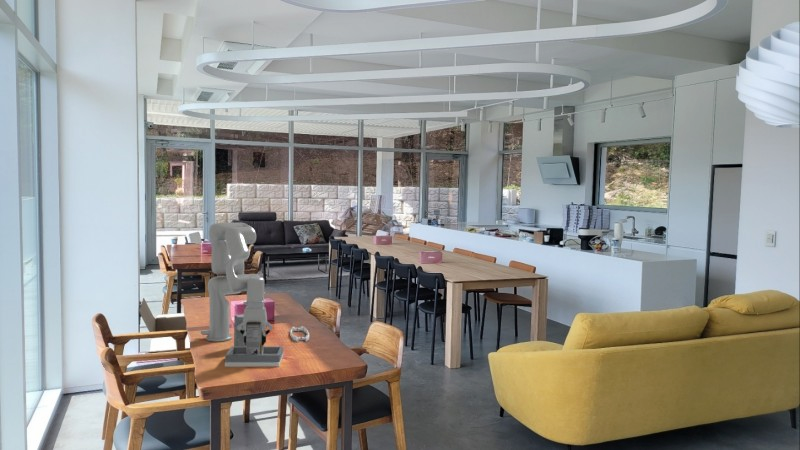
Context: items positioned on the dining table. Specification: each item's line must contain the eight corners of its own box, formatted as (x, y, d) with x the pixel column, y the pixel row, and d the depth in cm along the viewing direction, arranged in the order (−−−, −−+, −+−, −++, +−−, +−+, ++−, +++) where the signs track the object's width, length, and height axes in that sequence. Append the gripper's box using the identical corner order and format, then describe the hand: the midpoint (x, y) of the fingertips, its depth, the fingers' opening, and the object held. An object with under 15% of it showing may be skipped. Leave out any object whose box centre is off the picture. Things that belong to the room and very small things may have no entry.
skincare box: (236, 350, 264) (236, 317, 263) (233, 346, 271) (233, 314, 270) (254, 348, 268) (254, 316, 267) (251, 344, 275) (251, 312, 274)
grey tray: (224, 366, 241) (224, 356, 241) (232, 355, 257) (232, 345, 257) (279, 366, 244) (279, 356, 243) (283, 355, 259) (283, 345, 259)
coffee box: (249, 352, 255) (249, 317, 253) (263, 352, 255) (264, 317, 254) (245, 359, 246) (245, 322, 244) (260, 359, 246) (260, 322, 245)
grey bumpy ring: (306, 329, 307) (311, 342, 283) (288, 330, 304) (291, 343, 280) (306, 325, 307) (311, 337, 283) (288, 325, 304) (291, 337, 280)
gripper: (233, 306, 244) (233, 346, 246) (274, 306, 246) (273, 346, 247) (237, 302, 252) (236, 341, 253) (276, 303, 253) (275, 342, 255)
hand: (255, 344), depth 250 cm, fingers open, 6 cm apart
